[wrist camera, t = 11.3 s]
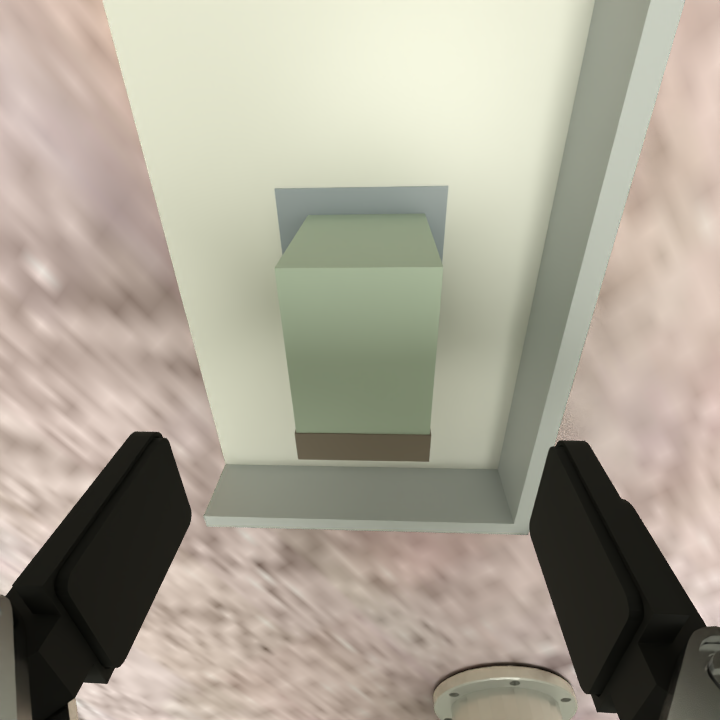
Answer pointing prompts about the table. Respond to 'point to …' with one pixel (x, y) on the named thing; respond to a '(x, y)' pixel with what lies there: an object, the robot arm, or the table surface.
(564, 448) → the robot arm
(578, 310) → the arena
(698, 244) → the table surface
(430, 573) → the table surface
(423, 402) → the block
